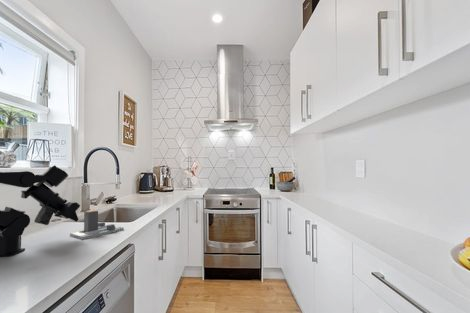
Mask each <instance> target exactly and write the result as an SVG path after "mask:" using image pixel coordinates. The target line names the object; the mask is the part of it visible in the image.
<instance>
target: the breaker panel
mask: <svg viewBox="0 0 470 313" xmlns="http://www.w3.org/2000/svg"><path fill="white" fill-rule="evenodd" d="M124 229H125V228H124V227H123V226H121V225H116V224H114V223H110V224H106V222H105V221H101V222H98V230H95V231H90V232H84V229H82V230H79V231H74V232H70V233H69V236H70V237H72V238H76V239H77V240H81V241H84V240H87V239H90V238H95V237H99V236H103V235H108V234H113V233H117V232H120V231H124Z"/></svg>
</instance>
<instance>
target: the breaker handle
mask: <svg viewBox="0 0 470 313" xmlns="http://www.w3.org/2000/svg"><path fill="white" fill-rule="evenodd" d="M98 223H99V211H98V210H95V209H90V210H86V211H84V216H83V230H84V232H90V231H95V230H98Z"/></svg>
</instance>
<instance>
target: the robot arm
mask: <svg viewBox="0 0 470 313" xmlns="http://www.w3.org/2000/svg"><path fill="white" fill-rule="evenodd" d="M67 178H69V174H68V173H67V172H66V171H65V170H63V169H62V168H60V167H58V166H56V165H55V164H54V165H51V166H50V167H49V168H47V170H46V171H44V172H43V173H42V174H35V173H34V172H32V171H30V170H29V171H27V170H20V171H19V170H15V171H13V170H12V171H0V184H1V185H6V186H11V187H17V188H24V189H26V188H27V189H26V190H21V195H20V198H21V199H25V200H26V199H28V198H29V197H31V198H32V199H34V200H35V201H37V203H39V206H40V207H41V208H40V210H39V211H38V213H37V215H36V217H35V219H34V223H37V224H40V225H45V226H49V225H50V221H51V219H52V217H56V218H57V217H58V218H62V219H66V220H68V219H69V220H71V221H73V222H78V221H79V217H78V215H77V214H78V213H77V212H76V211H77V210H78V209H79V208H80V207H81V204H79V203H78V202H76V201H68V200H67V199H66V198H65V199H64V198H62V197H61V196H60V193H58V192H55V191H53V190H52V189H51V188H53V187H54V188H57V187H58V186H60V185H61V184H62V183H63V182H64V181H65V180H66V179H67ZM53 214H54V215H53ZM30 222H31V218H30V215H28V214H26V211H24V210H20V209H15V208H13V207H10V206H5V208H4V209H0V257H11V256H13V255H14V256H15V255H17V254H18V253H21V252H23V251H25V250H26V248H24V247H23V248H22V236H23V233H24V231H25V229H26V228H27V227H28V226H29V225H30Z"/></svg>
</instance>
